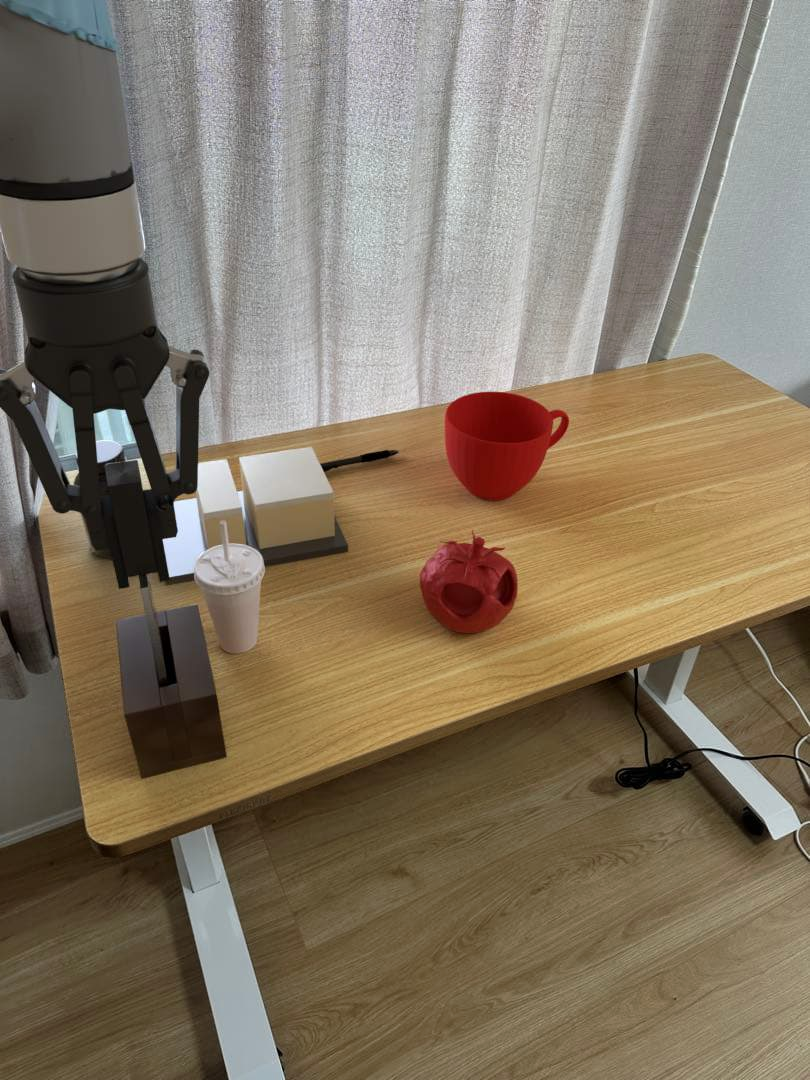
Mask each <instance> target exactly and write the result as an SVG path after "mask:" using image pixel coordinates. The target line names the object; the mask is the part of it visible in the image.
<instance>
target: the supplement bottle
mask: <svg viewBox="0 0 810 1080" xmlns="http://www.w3.org/2000/svg"><path fill="white" fill-rule="evenodd" d="M96 449H97V461H98V473H99V485H100V496H107V495H109V493H108V488H107V480H106V470H105V464H109V463H117V462H124V461H128V460H127V457H126V455H125V450H124V447H123V446H122V444H120V443H119V442H117V441H115V440H109V439H100V440H96ZM74 455H75V461H76V462H75V463H76V466H77V471H78V472H77V474H76V475H75V477H74V479H73V484H72V485H77V486H80V478H79V468H78V458H77V450H76V452H75V453H74ZM79 513H80V512H79ZM80 517H81V520H82V525H83V527H84V531H85V534H86V539H87V541H88V545H89V547H90V549H91V551H92V552H93V553H95V554H96V555H97V556H99V557H102V558H104V559H111V560H112V557H111V552H110V548H108V549H102V550H95V548H94V547H93V546H92V544H91V540H90V536H89V532H88V527H87V523H86V519H85V517H84V515H83V514H81V513H80Z"/></svg>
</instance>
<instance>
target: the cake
mask: <svg viewBox="0 0 810 1080" xmlns="http://www.w3.org/2000/svg"><path fill="white" fill-rule="evenodd" d="M238 461H239V471H240V479H241V480H240V481H241V489H242V490H241V491H243V499H244V503H245V506H246V509H247V512H248V515H249V518H250V521H251V524H252V527H253V530H254V533H255V536H256V540H257V543H258V546H259V549H263V548H269V547H275V546H280V545H286V544H291V543H297V542H303V541H308V540H314V539H319V538H325V537H331V536H335V525H334V516H335V491H334V490H333V488H332V486H331V484H330V482H329V480H328V477H327V476H326V473H325V472H324V471H323V469H322V467H321V465H320V463H321V462H320V461H319V459H318V457H317V455H316V453H315V451H314V449H313V447H312V446H308V447H307V446H306V447H300V448H294V449H293V448H292V449H286V450H280V451H279V450H278V451H272V452H267V453H259V454H252V455H245V456H239V457H238Z"/></svg>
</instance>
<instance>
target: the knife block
mask: <svg viewBox="0 0 810 1080" xmlns="http://www.w3.org/2000/svg"><path fill="white" fill-rule="evenodd" d="M156 614H157V619H158V624H159V629H160V635H161V642H162V648H163V655H164V662H165V668H166V675H167V682H166V683H161V684H160V682H159V677H158V672H157V667H156V663H155V658H154V653H153V648H152V643H151V639H150V634H149V629H148V624H147V619H146V615H145V614H139V615H135V616H134V615H133V616H130V617H125V618H118V619H116V620H115V629H116V630H115V631H116V642H117V652H118V663H119V665H118V666H119V674H120V684H121V685H120V686H121V698H122V709H123V716H124V719H125V723H126V727H127V731H128V735H129V739H130V742H131V745H132V749H133V753H134V756H135V760H136V764H137V767H138V771H139V776H140V778H141V779H146V778H151V777H152V776H157V775H161V774H167V773H170V772H173V771H177V770H181V769H185V768H190V767H194V766H198V765H202V764H206V763H209V762H214V761H218V760H222V759H225V758H227V757H228V756H227V755H228V754H227V750H226V749H227V748H226V742H225V737H224V731H223V724H222V718H221V712H220V707H219V699H218V693H217V688H216V684H215V683H216V682H215V680H214V674H213V670H212V666H211V661H210V656H209V651H208V646H207V642H206V641H207V640H206V637H205V632H204V627H203V623H202V618H201V613H200V609H199V604H198V603H195V604H191V605H190V604H189V605H186V606H180V607H176V608H175V607H174V608H170V609H165V610H160V611H156Z"/></svg>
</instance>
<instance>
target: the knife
mask: <svg viewBox="0 0 810 1080" xmlns="http://www.w3.org/2000/svg"><path fill="white" fill-rule="evenodd" d="M105 470H106V480H107V488H108V493H109V498H110V502H111V507H112V511H113V516H114V520H115V525H116V530H117V534H118V539H119V543H120V548H121V552H122V557H123V562H124V566H125V571H126V575H127V577H128V578H134V577H138V582H139V590H140V595H141V600H142V604H143V609H144V615H146V619H147V624H148V629H149V634H150V639H151V643H152V648H153V653H154V658H155V663H156V667H157V672H158V677H159V682H160V684H161V683H166V682H167V675H166V668H165V662H164V655H163V648H162V642H161V635H160V629H159V624H158V619H157V614H156V612H157V609H156V605H155V599H154V595H153V589H152V585H151V584H152V583H151V578H150V574H156V573H157V574H158V569H157V564H156V559H155V553H154V548H153V543H152V537H151V532H150V527H149V521H148V516H147V511H146V504H145V498H144V492H143V490H144V487H143V481H142V476H141V470H140V465H139V460H138V459H131V460H127V461H124V462H117V463H109V464H105Z"/></svg>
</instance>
